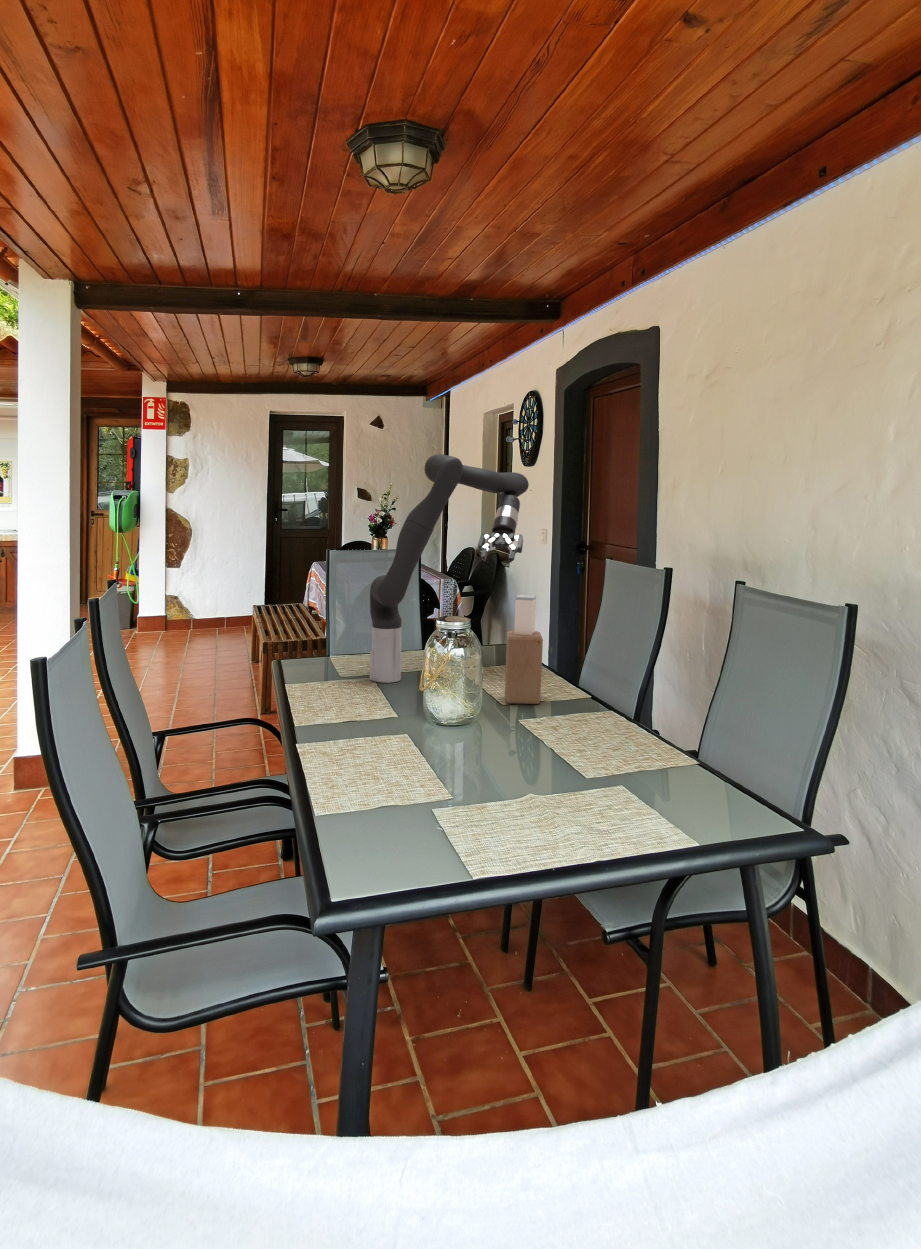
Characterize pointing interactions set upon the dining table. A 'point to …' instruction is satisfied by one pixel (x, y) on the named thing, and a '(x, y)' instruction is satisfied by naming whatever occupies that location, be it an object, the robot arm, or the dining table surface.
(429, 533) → the robot arm
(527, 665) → the wooden block
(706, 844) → the dining table surface
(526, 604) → the beige upright block
